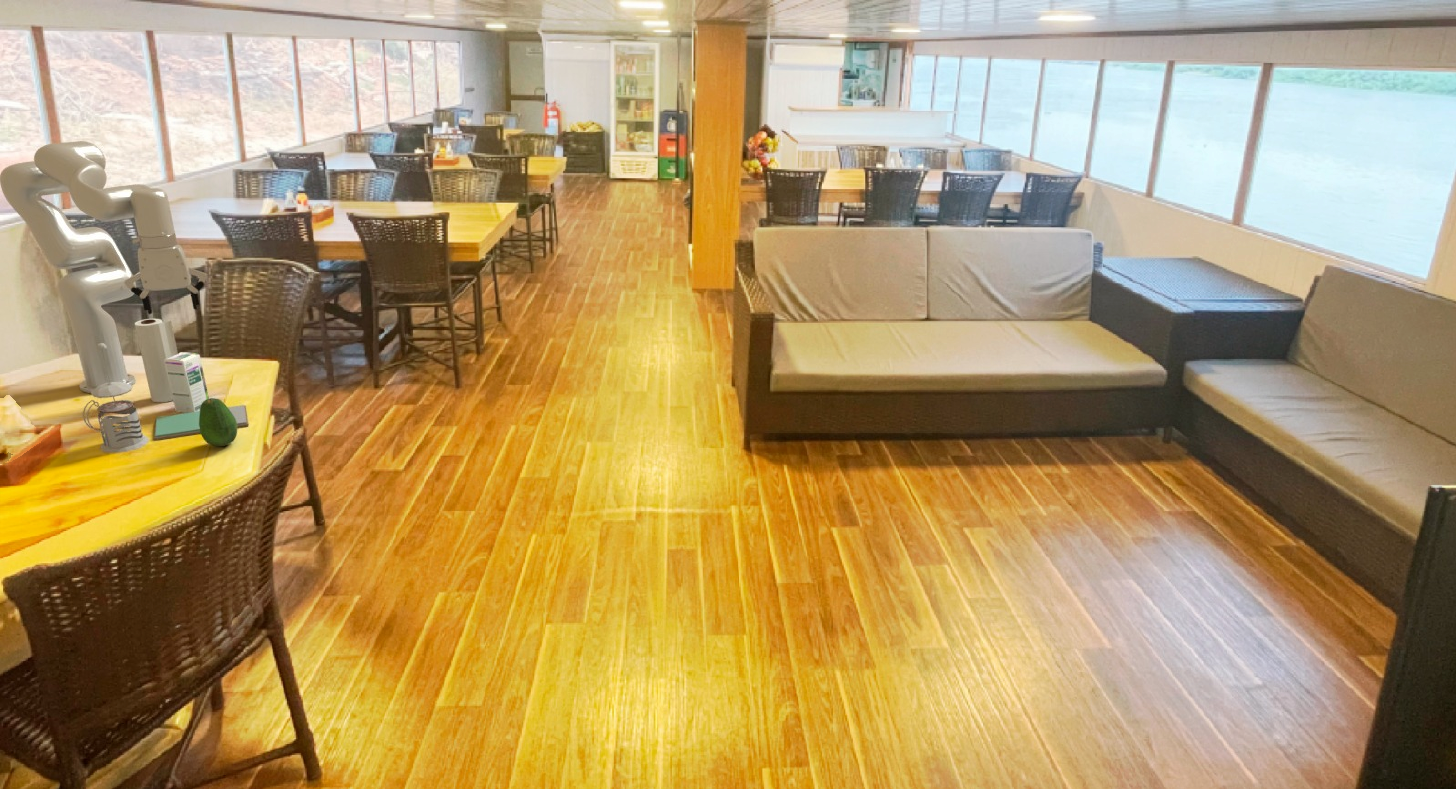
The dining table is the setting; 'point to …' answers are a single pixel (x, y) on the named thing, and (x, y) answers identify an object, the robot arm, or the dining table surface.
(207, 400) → the avocado
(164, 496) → the dining table surface
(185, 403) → the syrup box
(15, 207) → the robot arm
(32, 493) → the dining table surface
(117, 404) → the french press
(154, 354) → the paper towel roll
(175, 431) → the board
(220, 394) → the dining table surface
